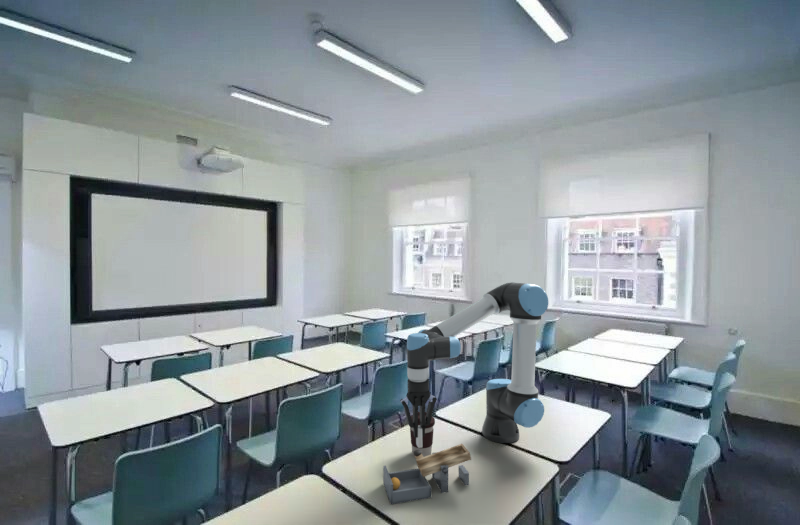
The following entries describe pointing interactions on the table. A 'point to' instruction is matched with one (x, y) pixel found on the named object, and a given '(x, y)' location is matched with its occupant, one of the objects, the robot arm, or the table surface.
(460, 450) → the lever
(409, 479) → the tray
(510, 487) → the table surface
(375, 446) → the table surface
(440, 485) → the fulcrum
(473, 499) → the table surface
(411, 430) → the coffee cup
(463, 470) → the post
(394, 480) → the ball
